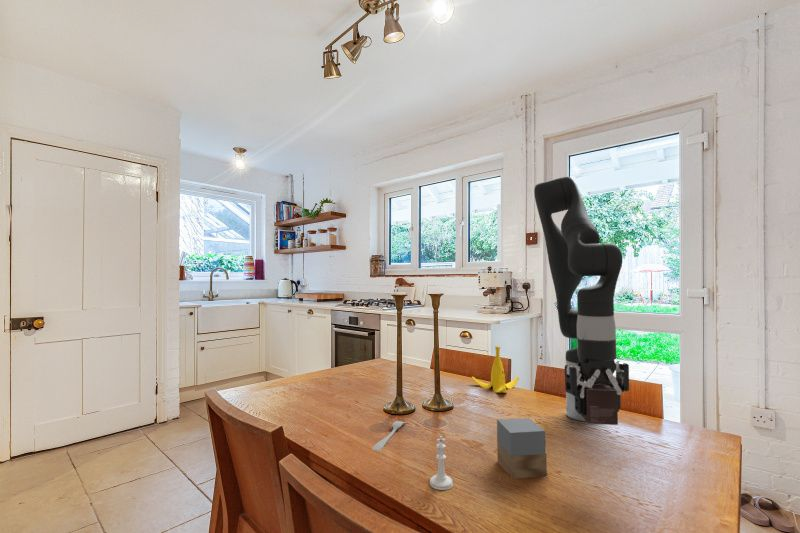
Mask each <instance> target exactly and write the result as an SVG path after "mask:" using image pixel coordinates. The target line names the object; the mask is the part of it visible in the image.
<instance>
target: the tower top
mask: <svg viewBox="0 0 800 533" xmlns="http://www.w3.org/2000/svg"><path fill="white" fill-rule="evenodd" d="M496 425H497V426H496V435H497V437H496V439H497V440H496V441H498V442H499V443H500V444H501V446H502V447H503V448H504V449H505V450H506V451H507V452H508V453H509V455H510V456H519V455H536V454H546V453H547V451H546V430H544V429H543V428H542V427H541V426H540V425H538V424H537V423H536V422H535V421H533V419H531V418H530V417H521V418H502V419H501V418H500V419H496Z"/></svg>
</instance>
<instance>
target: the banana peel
mask: <svg viewBox="0 0 800 533" xmlns="http://www.w3.org/2000/svg"><path fill="white" fill-rule="evenodd" d="M494 348H495V357H494V361H493V364H492V367H491V373H490V383H487V382H486V383H485V382H483V381H481V380H478V378H477V379H476V378H475V377H474V376H471V379H472V381H474V383H476V384H477V385H478V386H479V387H481V388H483V389H487V390H489V389H491V388H492V390H493V392H494V393H495V394H498V393H499V394H501V393H503V394H506V393H507V394H508V392H507V389H508V390H510V389H513V388H514V387H515V386H516V385H517V383H518V381H519V379H520V377H519V376H516V377H515V378H514V379H513V380H511V381H509V382H507V383H506V376H505V375H506V374H505V370H504V365H503V362H502V360H501V355H500V349H501V346H499V345H496V346H494Z"/></svg>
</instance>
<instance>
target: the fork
mask: <svg viewBox="0 0 800 533" xmlns="http://www.w3.org/2000/svg"><path fill="white" fill-rule="evenodd" d="M404 423H405V424H408V422H405V421H401V420H396V421H395V420H394V421H393V423H392V424H391V426H392V430H391V431H390V433H389V434H387V436H384V438H383V439H381V440H380V441H378V442H377V443H375V444H374V445H373V446H372V448H371V450H372V451H379V452H380V451H382V449H383V447H384V446H385V444H386V443H387V442H388V441H389V439H390V438H391V437H392V436H393V435H394V434H395V432H396V431H397V430H398V429H399V428H401V427H402V425H403V424H404Z"/></svg>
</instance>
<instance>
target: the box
mask: <svg viewBox="0 0 800 533" xmlns="http://www.w3.org/2000/svg"><path fill="white" fill-rule="evenodd" d="M584 383H586V382H584ZM584 398H586V415H583V416H582V417H583V418H584V419H585V420H586V421H585V422H586V423H587V424H589V425H609V426H618V424H619V418H618V414H619V412H617V390H616V389H615V388H613V387H612V386H610V385H608V384H601V383H600V384H597V385H593V386H592V388H591V389H588V388H587V389H586V395H585V397H584Z"/></svg>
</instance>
